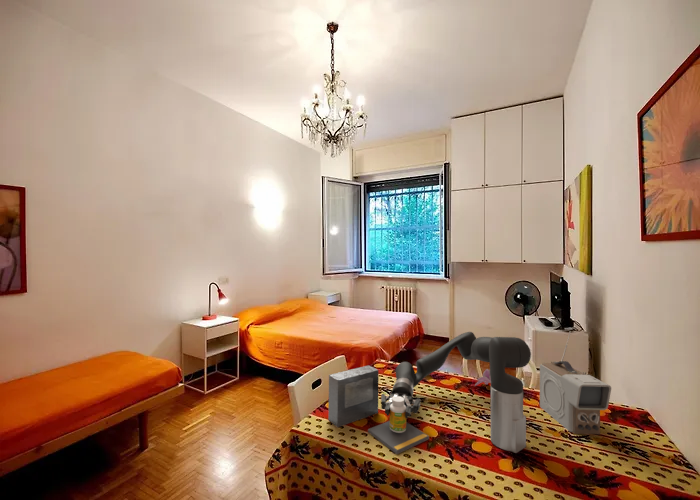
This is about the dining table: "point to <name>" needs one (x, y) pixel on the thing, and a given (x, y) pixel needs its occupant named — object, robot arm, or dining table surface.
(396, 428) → the supplement bottle
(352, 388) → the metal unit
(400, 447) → the mat
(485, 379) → the lily
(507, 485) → the dining table surface
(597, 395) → the portable television
